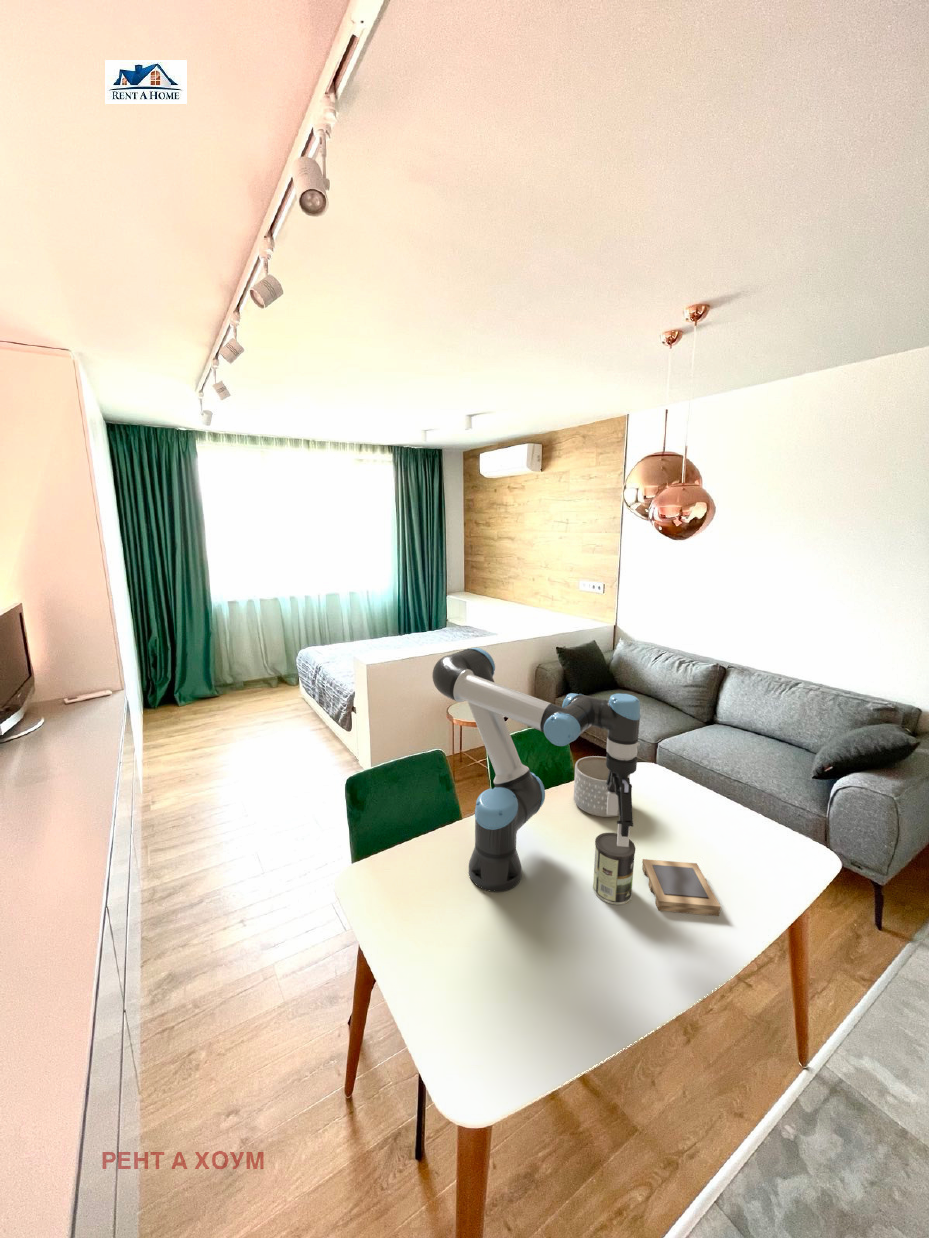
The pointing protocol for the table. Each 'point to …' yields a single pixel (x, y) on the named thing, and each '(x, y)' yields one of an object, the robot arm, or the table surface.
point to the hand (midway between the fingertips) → (616, 829)
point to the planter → (592, 785)
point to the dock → (680, 887)
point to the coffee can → (613, 869)
